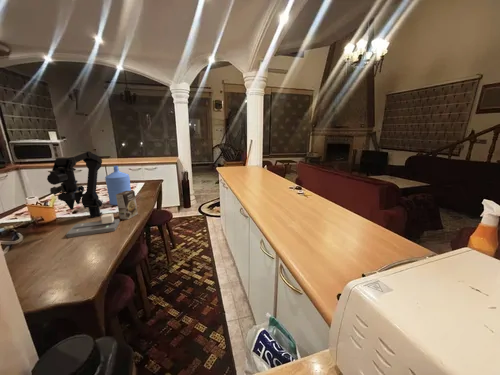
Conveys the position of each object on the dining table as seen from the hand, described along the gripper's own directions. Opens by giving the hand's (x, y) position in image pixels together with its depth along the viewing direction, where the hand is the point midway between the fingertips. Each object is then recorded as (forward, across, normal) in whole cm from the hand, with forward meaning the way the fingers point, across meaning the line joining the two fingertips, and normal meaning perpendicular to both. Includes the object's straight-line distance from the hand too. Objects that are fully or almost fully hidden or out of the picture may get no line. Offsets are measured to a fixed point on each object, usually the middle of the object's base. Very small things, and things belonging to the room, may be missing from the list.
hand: (75, 206), depth 125 cm
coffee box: (+12, -6, +25) cm, 28 cm away
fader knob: (+10, +8, +17) cm, 21 cm away
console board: (+12, +8, +10) cm, 18 cm away
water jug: (+12, -39, +15) cm, 44 cm away
